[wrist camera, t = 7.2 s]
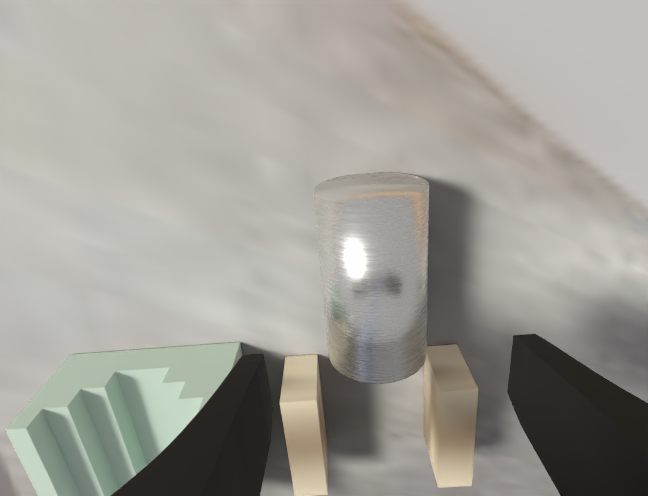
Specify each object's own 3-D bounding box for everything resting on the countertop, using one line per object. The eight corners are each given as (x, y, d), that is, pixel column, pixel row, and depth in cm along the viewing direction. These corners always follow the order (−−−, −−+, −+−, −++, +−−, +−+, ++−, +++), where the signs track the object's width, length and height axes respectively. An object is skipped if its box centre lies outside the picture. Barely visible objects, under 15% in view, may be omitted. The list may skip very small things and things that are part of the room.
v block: (264, 466, 23) (251, 554, 19) (117, 475, 23) (72, 564, 19) (239, 341, 20) (217, 415, 16) (70, 354, 20) (5, 429, 16)
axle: (410, 318, 20) (440, 375, 16) (324, 329, 19) (334, 390, 16) (410, 168, 17) (446, 195, 13) (309, 178, 17) (318, 209, 13)
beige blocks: (453, 432, 22) (471, 485, 19) (298, 443, 22) (295, 496, 20) (457, 344, 20) (478, 389, 17) (285, 356, 20) (279, 402, 17)
